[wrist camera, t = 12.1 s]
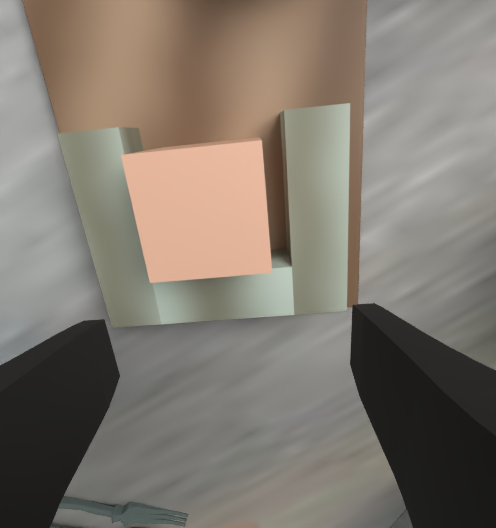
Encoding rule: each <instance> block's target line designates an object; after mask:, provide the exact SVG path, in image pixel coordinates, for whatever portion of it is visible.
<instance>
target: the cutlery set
mask: <svg viewBox="0 0 496 528" xmlns="http://www.w3.org/2000/svg"><path fill="white" fill-rule="evenodd" d="M58 508H65V509H74V510H82V511H86V512H90V513H94V514H98V515H103V516H109V517H112V523H113V522H116V521H120V520H121V521H122V523H123V524H124V526H126V525H128V524H130V523H145V524H175V525H180V526H185V524H186V523H182V522H177V521H172V520H168V519H174V520H180V521H184V522H186V521H187V519H186V518H181V517H176V516H171V515H167V514H172V515H180V516H184V517H187V516H188V514H185V513H181V512H176V511H171V510H166V509H161V508H156V507H152V506H147V505H143V504H138V503H133V502H129V503H128V504H127V505H125V506H121V505H118V504H116V505H115V507H113V506H109V505H105V504H100V503H97V502H94V501H88V500H82V499H76V498H70V497H64V496H63V498H62V500H61V502H60V504H59V507H58ZM50 528H60V527H54V526H50ZM133 528H136V527H133Z"/></svg>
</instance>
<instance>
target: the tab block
mask: <svg viewBox="0 0 496 528" xmlns="http://www.w3.org/2000/svg"><path fill="white" fill-rule="evenodd" d="M121 158H122V162H123V167H124V171H125V176H126V180H127V184H128V189H129V193H130V198H131V202H132V206H133V211H134V215H135V220H136V224H137V228H138V233H139V237H140V242H141V246H142V250H143V255H144V259H145V264H146V268H147V272H148V277H149V281H150V283H157V282H169V281H181V280H193V279H205V278H217V277H229V276H241V275H253V274H265V273H272V262H271V250H270V237H269V224H268V212H267V199H266V186H265V174H264V161H263V148H262V140H261V138H260V137H256V138H247V139H238V140H228V141H219V142H209V143H200V144H190V145H181V146H171V147H163V148H157V149H152V150H146V151H141V152H135V153H130V154H124V155H121Z"/></svg>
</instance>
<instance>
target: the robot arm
mask: <svg viewBox="0 0 496 528" xmlns="http://www.w3.org/2000/svg"><path fill="white" fill-rule="evenodd" d="M350 365H351V368H352V372H353V376H354V379H355V383H356V386H357V389H358V392H359V396H360V398H361V401H362V403H363V405H364V408H365V410H366V412H367V415H368V417H369V419H370V422H371V424H372V426H373V428H374V431H375V433H376V435H377V437H378V440H379V442H380V444H381V446H382V449H383V451H384V453H385V456H386V458H387V460H388V462H389V465H390V467H391V469H392V471H393V474H394V476H395V479H396V481H397V484H398V486H399V489H400V491H401V494H402V497H403V500H404V503H405V506H406V509H407V511H408V514H409V517H410V520H411V523H412V526H413V528H496V370H493V369H491V368H489V367H487V366H485V365H483V364H481V363H479V362H477V361H475V360H473V359H471V358H469V357H467V356H465V355H463V354H462V353H460V352H458V351H456V350H454V349H452V348H450V347H448V346H447V345H445V344H443V343H441V342H439V341H438V340H436V339H434V338H432V337H431V336H429V335H427V334H426V333H424V332H422V331H420V330H419V329H417V328H415V327H414V326H412V325H411V324H409V323H407V322H406V321H404V320H402V319H401V318H399V317H397V316H396V315H394V314H393V313H391V312H389V311H388V310H386V309H384V308H382V307H381V306H379V305H377V304H375V303H374V304H357V305H353V308H352V334H351V359H350ZM119 377H120V374H119V371H118V367H117V364H116V360H115V356H114V353H113V349H112V345H111V342H110V338H109V334H108V331H107V327H106V323H105V320H88V321H83V322H80V323H78V324H76V325H73V326H71V327H69V328H68V329H66V330H64V331H62V332H60V333H58V334H56V335H54V336H53V337H51V338H49V339H47V340H46V341H44V342H42V343H40V344H38V345H37V346H35V347H33V348H31V349H30V350H28V351H26V352H24V353H22V354H21V355H19V356H17V357H15V358H14V359H12V360H10V361H8V362H6V363H4V364H2V365H1V366H0V528H50V526H51V524H52V521H53V519H54V516H55V514H56V511H57V509H58V507H59V504H60V502H61V500H62V498H63V496H64V494H65V492H66V490H67V488H68V486H69V484H70V482H71V480H72V478H73V476H74V474H75V472H76V470H77V468H78V466H79V465H80V463H81V461H82V459H83V457H84V455H85V453H86V451H87V449H88V447H89V445H90V443H91V442H92V440H93V438H94V436H95V434H96V432H97V430H98V428H99V426H100V424H101V422H102V420H103V418H104V416H105V414H106V412H107V410H108V408H109V405H110V403H111V400H112V397H113V395H114V392H115V389H116V386H117V383H118V380H119Z"/></svg>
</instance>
